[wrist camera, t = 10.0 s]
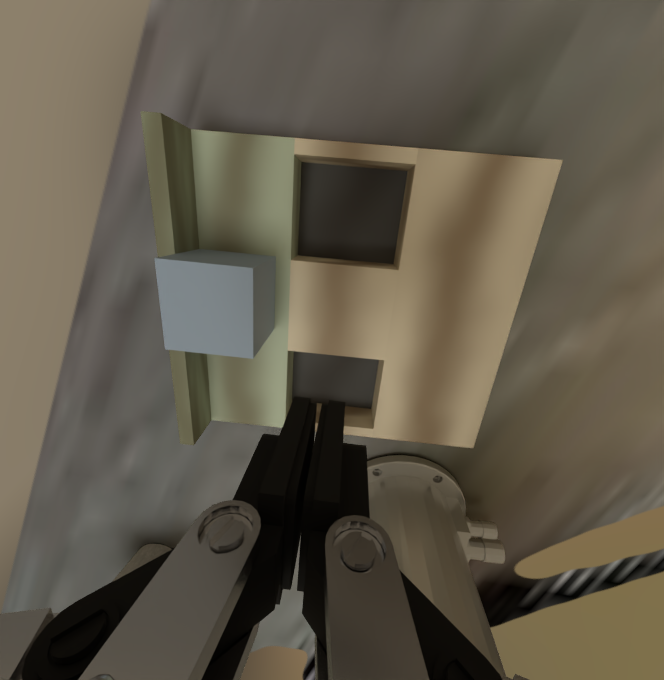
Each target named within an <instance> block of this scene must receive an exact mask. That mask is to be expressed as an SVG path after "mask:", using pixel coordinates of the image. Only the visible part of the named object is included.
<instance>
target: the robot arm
mask: <svg viewBox="0 0 664 680" xmlns="http://www.w3.org/2000/svg"><path fill="white" fill-rule="evenodd" d="M316 410H317V403H312V402H311V398H307V397H298V396H294V398H293V401H292V403H291V406H290V409H289V411H288V414H287V417H286V420H285V422H284V425H283V428H282V430H281V433H280V436H279V435H270V434H263V435H262V437H261V439H260V441H259V443H258V446H257V448H256V450H255V452H254V454H253V457H252V459H251V461H250V463H249V465H248V468H247V470H246V472H245V474H244V476H243V479H242V481H241V483H240V485H239V487H238V490H237V492H236V494H235V496H234V498H233V500H229V501H222V502H220V503H217V504H214V505H212V506H211V507H209V508H208V509H206V510H205V511H203V512H202V513H201V514H200V516H199V517H198V518H197V519H196V520H195V521H194V523H193V524H192V525H191V527H190V528H189V529H188V531H187V532H186V534H185V535H184V536H183V538H182V539H181V540H180V542H179V543H178V544H177V546H176V547H175V548H173V549H172V550H170V551H168V552H166V553H164V554H163V555H161V556H159V557H157V558H155V559H153V560H152V561H150V562H148V563H146V564H144V565H142V566H141V567H139V568H137V569H135V570H133V571H131V572H130V573H128V574H126V575H124V576H122V577H120V578H119V579H117V580H115V581H113V582H111V583H109V584H108V585H106V586H104V587H102V588H100V589H98V590H97V591H95V592H93V593H91V594H89V595H87V596H86V597H84V598H82V599H80V600H78V601H77V602H75V603H74V604H72V605H71V606H69V607H67V608H66V609H64V610H63V611H61V612H60V613H52V610H51V608H44V609H36V610H28V611H20V612H12V613H4V614H0V680H240V678H241V675H242V672H243V670H244V667H245V664H246V661H247V659H248V656H249V653H250V651H251V648H252V645H253V643H254V640H255V637H256V635H257V632H258V627H259V623H260V621H261V620H262V619H263V618H265V617H266V616H267V615H268V614H270V613H271V612H272V611H273V610H274V609H275V604H279V605H280V600H281V595H282V590H283V589H289V590H290V589H291V585H292V580H293V574H294V569H295V563H296V558H297V552H298V547H299V541H300V535H301V543H300V557H299V571H298V585H297V591H303V592H304V597H303V609H302V614H303V616H304V617H305V619H306V620H307V622H308V623H309V625H310V626H311V628H312V630H313V631H314V633H315V680H528V679H526V678H523V677H521V676H519V675H517V674H515V676H514V677H513V679H510V678H508V677H506V674H505V671H504V669H503V665H502V663H501V659H500V656H499V653H498V651H497V647H496V644H495V641H494V638H493V635H492V632H491V630H490V626H489V623H488V620H487V617H486V614H485V611H484V608H483V605H482V602H481V599H480V597H479V594H478V591H477V588H476V585H475V582H474V579H473V576H472V573H471V570H470V567H469V564H468V563H469V561H470V559H473V560H481V561H482V562H490V563H499V564H503V563H504V561H505V550H504V547H503V544H502V543H501V541H500V540H498V539H497V537H498V530H497V526H496V524H495V523H494V522H488V521H472V520H470V519H469V518H468V517H467V516H465V514H466V504H465V499H464V496H463V493H462V491H461V488H460V486H459V485H458V483H457V481H456V479H455V478H454V477H453V476H452V475H451V474H450V473H449V472H448V471H447V470H445V469H444V468H442V467H441V466H439V465H438V464H435V463H433V462H431V461H429V460H426V459H422V458H419V457H415V456H406V455H393V456H385V457H379V458H375V459H372V460H370V461H367V450H366V446H364V445H355V444H347V443H343V434H344V417H345V402H343V401H334V400H329V403H328V404H322V406H321V411H320V416H319V421H318V426H317V432H316V437H315V442H314V436H315V423H316ZM471 536H475V537H479V538H473V537H471Z"/></svg>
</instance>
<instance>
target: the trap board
mask: <svg viewBox="0 0 664 680" xmlns="http://www.w3.org/2000/svg"><path fill="white" fill-rule="evenodd" d="M141 118H142V127H143V135H144V144H145V152H146V160H147V169H148V177H149V186H150V194H151V202H152V211H153V219H154V227H155V236H156V244H157V253H158V257H162V256H167V255H172V254H177V253H182V252H187V251H192V250H197V249H206V250H216V251H226V252H236V253H246V254H256V255H266V256H276V275H275V319H274V330H273V332H272V333H271V334H270V336H269V337H268V339H267V340H266V342H265V343H264V344H263V346H262V347H261V349H260V350H259V351H258V353H257V354H256V356H255V357H254V359H250V358H241V357H232V356H223V355H213V354H204V353H195V352H186V351H177V350H169V353H170V361H171V370H172V378H173V387H174V395H175V403H176V412H177V420H178V428H179V437H180V444H188V445H194V444H195V443H196V442H197V440H198V439H199V437H200V436H201V434H202V433H203V431H204V430H205V429H206V427H207V426H208V424H209V423H210V421H211V420H216V421H225V422H234V423H244V424H253V425H262V426H271V427H281V428H283V425H284V422H285V420H286V417H287V414H288V411H289V409H290V406H291V403H292V401H293V398H294V396H298V397H307V398H311V402H312V403H317V410H316V423H315V431H317V426H318V421H319V416H320V411H321V406H322V404H328V403H329V400H334V401H343V402H345V417H344V434H346V435H355V436H364V437H373V438H383V439H392V440H401V441H410V442H420V443H429V444H438V445H448V446H457V447H466V448H473V447H474V444H475V441H476V438H477V434H478V431H479V428H480V425H481V422H482V418H483V415H484V412H485V409H486V406H487V402H488V399H489V396H490V393H491V390H492V386H493V383H494V380H495V377H496V373H497V370H498V367H499V364H500V361H501V357H502V354H503V351H504V348H505V345H506V341H507V338H508V335H509V332H510V329H511V325H512V322H513V319H514V316H515V313H516V309H517V306H518V303H519V300H520V296H521V293H522V290H523V287H524V284H525V280H526V277H527V274H528V271H529V268H530V264H531V261H532V258H533V255H534V252H535V248H536V245H537V242H538V239H539V235H540V232H541V229H542V226H543V223H544V219H545V216H546V213H547V210H548V207H549V203H550V200H551V197H552V194H553V191H554V187H555V184H556V181H557V178H558V174H559V171H560V168H561V165H562V162H563V160H555V159H543V158H531V157H519V156H507V155H495V154H483V153H471V152H459V151H447V150H434V149H422V148H410V147H398V146H386V145H374V144H362V143H350V142H338V141H326V140H314V139H301V138H289V137H277V136H265V135H253V134H241V133H229V132H217V131H205V130H193V129H189V128H187V127H186V126H184V125H182V124H180V123H178V122H176V121H175V120H173V119H171V118H169V117H167V116H165V115H164V114H162V113H154V112H142V111H141Z"/></svg>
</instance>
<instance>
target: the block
mask: <svg viewBox="0 0 664 680" xmlns="http://www.w3.org/2000/svg"><path fill="white" fill-rule="evenodd" d="M155 266H156V275H157V284H158V292H159V301H160V309H161V318H162V326H163V335H164V343H165V349H167V350H177V351H186V352H195V353H204V354H213V355H223V356H232V357H241V358H250V359H254V357H255V356H256V354H257V353H258V351H259V350H260V349H261V347H262V346H263V344H264V343H265V342H266V340H267V339H268V337H269V336H270V334H271V333H272V332H273V330H274V319H275V275H276V256H266V255H256V254H246V253H236V252H226V251H216V250H206V249H197V250H192V251H187V252H182V253H177V254H172V255H167V256H162V257H157V258H155Z"/></svg>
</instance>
